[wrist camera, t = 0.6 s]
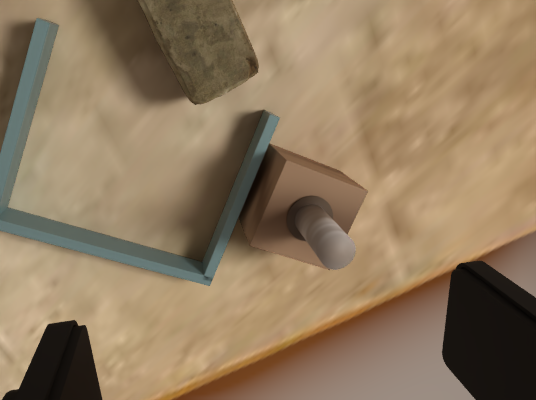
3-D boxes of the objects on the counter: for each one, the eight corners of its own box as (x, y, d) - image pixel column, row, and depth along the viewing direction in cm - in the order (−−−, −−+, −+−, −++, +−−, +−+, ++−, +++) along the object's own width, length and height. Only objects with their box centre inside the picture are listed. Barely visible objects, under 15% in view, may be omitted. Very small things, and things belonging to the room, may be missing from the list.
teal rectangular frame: (46, 20, 31) (36, 17, 28) (272, 113, 36) (279, 117, 34) (-7, 213, 34) (-20, 225, 32) (207, 272, 39) (209, 285, 37)
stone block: (191, 104, 35) (194, 112, 30) (110, -47, 30) (100, -64, 26) (255, 71, 35) (268, 74, 30) (185, -83, 31) (188, -107, 26)
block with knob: (269, 143, 37) (312, 184, 26) (339, 170, 39) (407, 219, 28) (238, 217, 38) (266, 286, 27) (307, 239, 40) (360, 311, 29)
